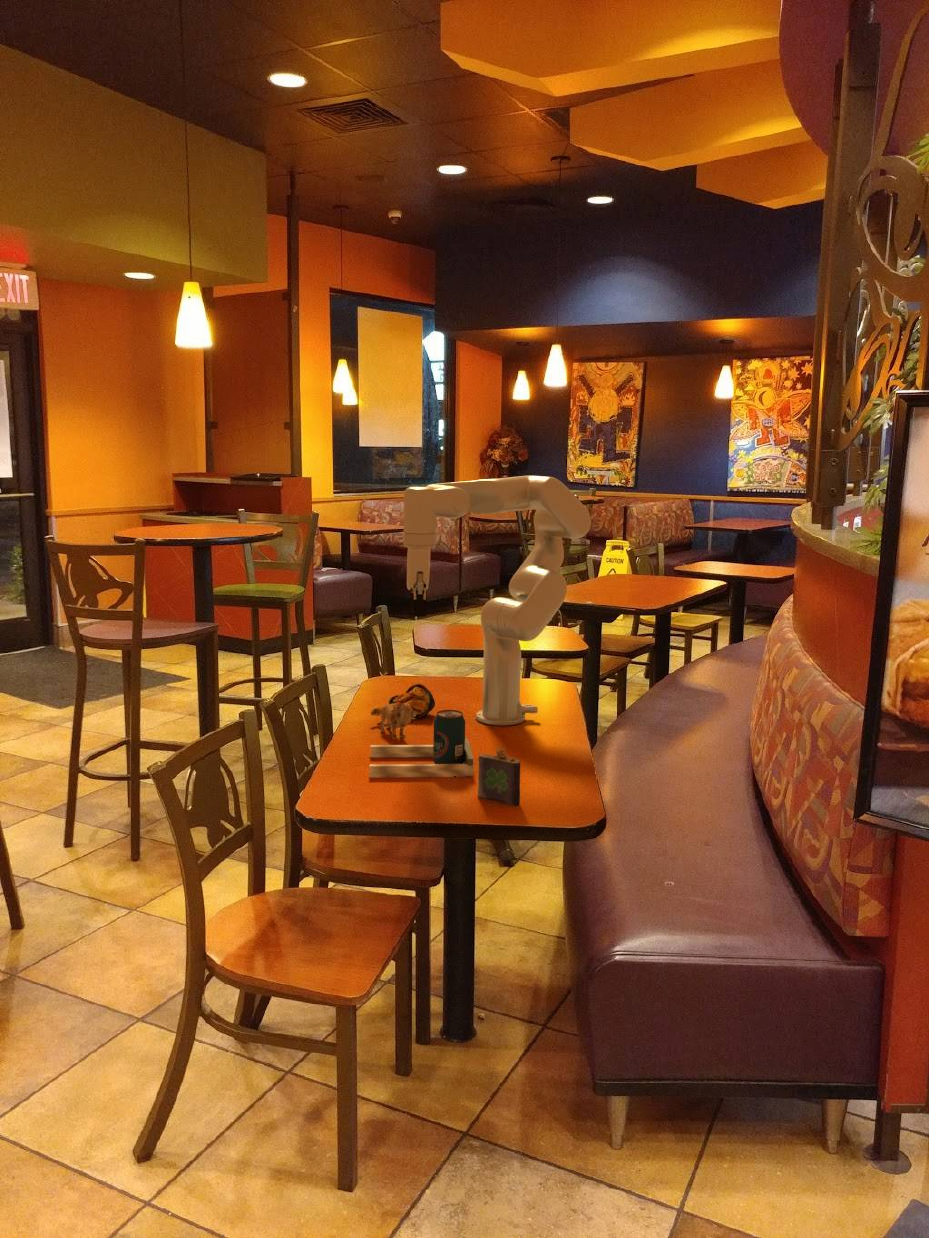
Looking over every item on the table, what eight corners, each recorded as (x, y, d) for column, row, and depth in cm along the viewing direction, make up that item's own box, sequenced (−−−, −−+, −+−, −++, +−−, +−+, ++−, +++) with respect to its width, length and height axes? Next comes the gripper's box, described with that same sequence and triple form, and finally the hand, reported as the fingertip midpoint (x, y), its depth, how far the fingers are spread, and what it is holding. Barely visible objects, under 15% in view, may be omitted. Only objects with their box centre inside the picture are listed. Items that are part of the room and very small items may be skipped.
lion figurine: (419, 740, 232) (419, 703, 231) (400, 744, 229) (401, 707, 228) (385, 725, 244) (385, 690, 242) (367, 728, 241) (367, 693, 239)
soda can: (426, 764, 215) (427, 712, 213) (450, 758, 219) (451, 707, 217) (446, 773, 210) (447, 719, 208) (470, 766, 214) (472, 714, 212)
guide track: (467, 755, 222) (467, 738, 221) (472, 776, 208) (473, 758, 207) (370, 755, 220) (370, 738, 219) (369, 777, 206) (369, 759, 205)
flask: (475, 798, 196) (476, 746, 194) (482, 793, 198) (484, 743, 196) (516, 807, 191) (518, 755, 189) (522, 803, 194) (524, 751, 192)
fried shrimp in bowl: (449, 699, 252) (405, 689, 238) (427, 734, 254) (383, 727, 240) (427, 679, 258) (383, 669, 243) (406, 714, 259) (361, 706, 245)
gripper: (402, 536, 235) (402, 606, 238) (404, 544, 218) (403, 619, 221) (433, 536, 236) (432, 606, 239) (437, 544, 219) (436, 619, 222)
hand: (418, 612), depth 230 cm, fingers open, 9 cm apart
